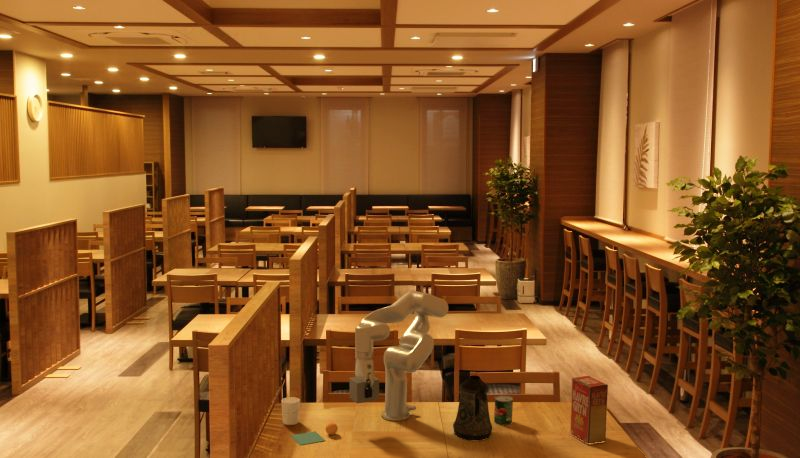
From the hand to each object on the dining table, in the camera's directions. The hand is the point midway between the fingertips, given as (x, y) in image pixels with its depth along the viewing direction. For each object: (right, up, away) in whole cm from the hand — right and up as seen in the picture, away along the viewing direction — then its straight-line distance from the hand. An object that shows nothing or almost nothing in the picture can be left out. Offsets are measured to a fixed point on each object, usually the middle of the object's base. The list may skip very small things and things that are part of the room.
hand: (364, 394), depth 334 cm
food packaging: (+94, -18, -3) cm, 96 cm away
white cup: (-32, -14, +8) cm, 36 cm away
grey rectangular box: (0, -2, 0) cm, 2 cm away
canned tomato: (+61, -15, +13) cm, 64 cm away
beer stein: (+47, -17, -2) cm, 50 cm away
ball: (-13, -13, -5) cm, 20 cm away
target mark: (-23, -16, -9) cm, 30 cm away
